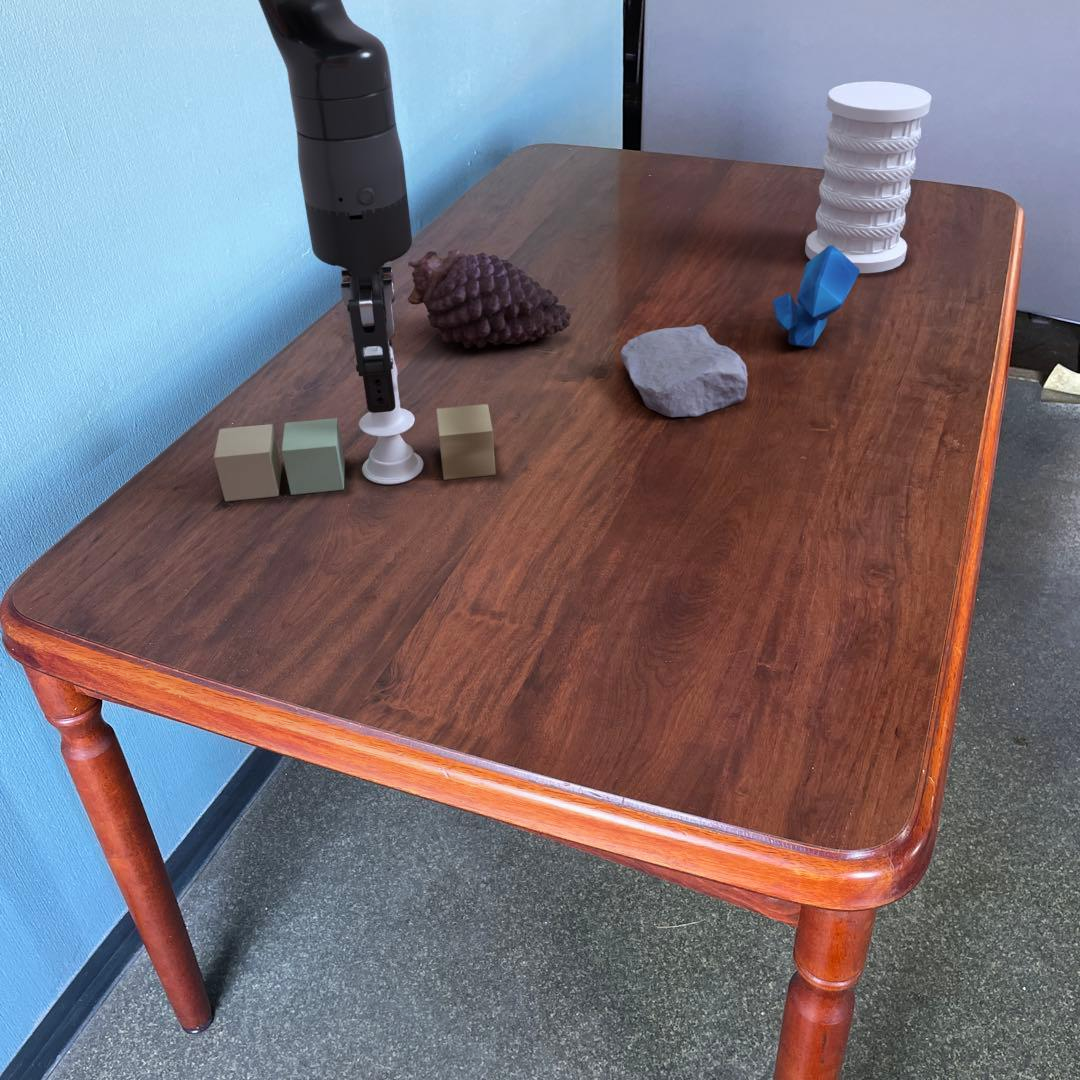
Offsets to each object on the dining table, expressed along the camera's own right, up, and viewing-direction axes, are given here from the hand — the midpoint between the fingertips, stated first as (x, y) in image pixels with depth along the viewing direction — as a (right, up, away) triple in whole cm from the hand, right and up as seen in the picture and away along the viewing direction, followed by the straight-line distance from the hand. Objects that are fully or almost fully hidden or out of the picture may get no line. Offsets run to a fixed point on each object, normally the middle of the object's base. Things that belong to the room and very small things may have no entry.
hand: (381, 383), depth 88 cm
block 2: (-6, -7, +5) cm, 11 cm away
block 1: (-12, -8, +4) cm, 15 cm away
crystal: (+41, +8, +23) cm, 48 cm away
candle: (0, -7, +6) cm, 9 cm away
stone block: (+26, +2, +16) cm, 31 cm away
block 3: (+7, -6, +6) cm, 11 cm away
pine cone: (+8, +8, +24) cm, 27 cm away
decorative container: (+50, +21, +39) cm, 67 cm away
